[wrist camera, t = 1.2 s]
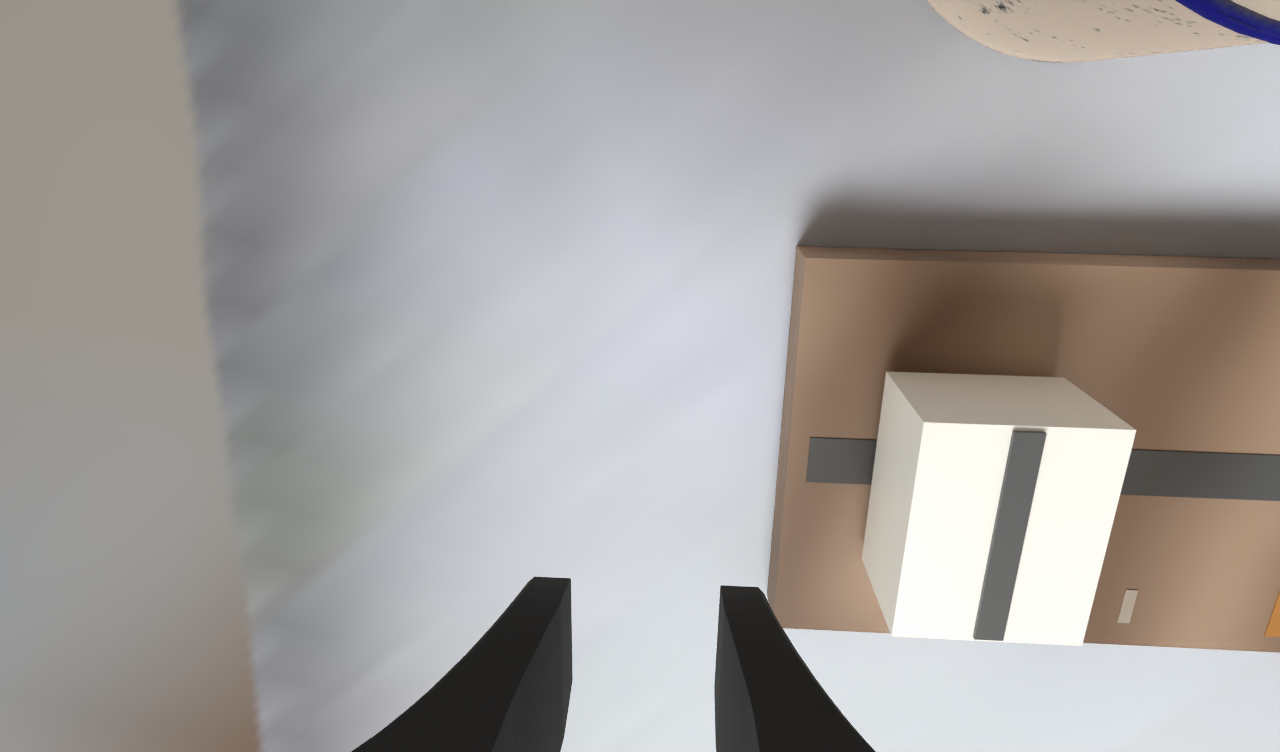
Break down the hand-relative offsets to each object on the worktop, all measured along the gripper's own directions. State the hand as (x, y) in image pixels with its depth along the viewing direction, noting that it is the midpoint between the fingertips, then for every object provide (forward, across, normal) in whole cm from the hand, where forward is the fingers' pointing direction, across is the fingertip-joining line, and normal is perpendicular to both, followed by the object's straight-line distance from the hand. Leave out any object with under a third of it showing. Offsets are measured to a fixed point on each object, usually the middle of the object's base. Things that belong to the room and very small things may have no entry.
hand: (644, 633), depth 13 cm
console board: (+8, -12, 0) cm, 15 cm away
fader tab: (+6, -7, 0) cm, 10 cm away
